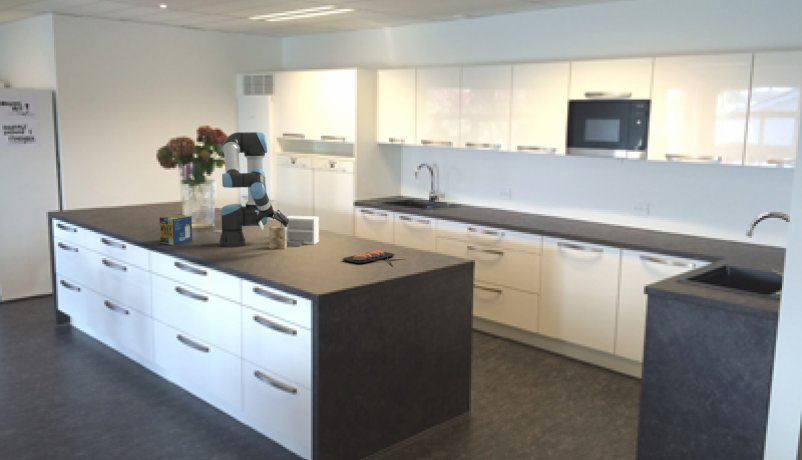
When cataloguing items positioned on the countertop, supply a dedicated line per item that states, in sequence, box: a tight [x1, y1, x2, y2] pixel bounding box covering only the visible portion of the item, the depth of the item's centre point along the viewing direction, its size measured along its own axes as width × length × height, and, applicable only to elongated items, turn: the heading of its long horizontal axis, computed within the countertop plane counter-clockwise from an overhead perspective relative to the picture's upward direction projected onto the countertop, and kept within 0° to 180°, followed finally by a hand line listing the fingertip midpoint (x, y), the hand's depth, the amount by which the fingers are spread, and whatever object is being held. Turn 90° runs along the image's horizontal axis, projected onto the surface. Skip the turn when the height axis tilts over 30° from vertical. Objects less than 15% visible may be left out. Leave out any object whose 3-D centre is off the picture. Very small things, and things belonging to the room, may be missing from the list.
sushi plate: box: [342, 250, 406, 268], centre depth 353 cm, size 29×30×4 cm
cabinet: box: [286, 215, 320, 247], centre depth 397 cm, size 18×18×15 cm
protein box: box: [159, 214, 193, 246], centre depth 395 cm, size 10×15×16 cm
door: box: [268, 226, 288, 250], centre depth 382 cm, size 9×4×12 cm, turn 81°
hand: (274, 229), depth 375 cm, fingers open, 13 cm apart
